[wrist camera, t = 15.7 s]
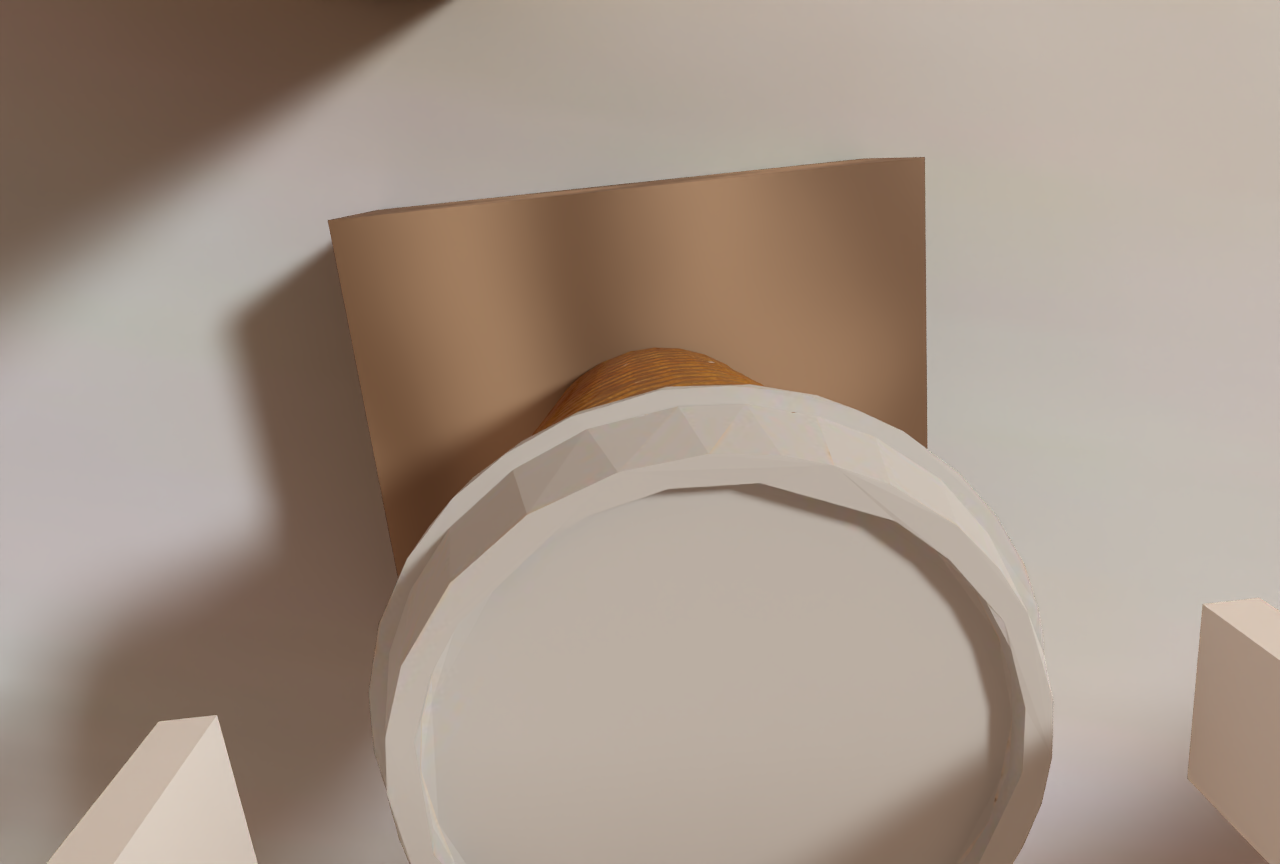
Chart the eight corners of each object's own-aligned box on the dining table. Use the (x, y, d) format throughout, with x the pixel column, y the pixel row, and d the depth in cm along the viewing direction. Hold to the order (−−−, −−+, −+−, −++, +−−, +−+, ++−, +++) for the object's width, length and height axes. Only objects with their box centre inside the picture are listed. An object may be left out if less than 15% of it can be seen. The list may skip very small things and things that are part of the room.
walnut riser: (863, 158, 26) (924, 157, 21) (875, 596, 30) (929, 678, 25) (377, 209, 26) (328, 220, 21) (455, 644, 30) (429, 736, 25)
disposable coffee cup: (449, 296, 21) (279, 448, 10) (844, 266, 22) (1122, 381, 10) (494, 649, 24) (403, 1087, 13) (845, 619, 24) (1066, 1022, 13)
